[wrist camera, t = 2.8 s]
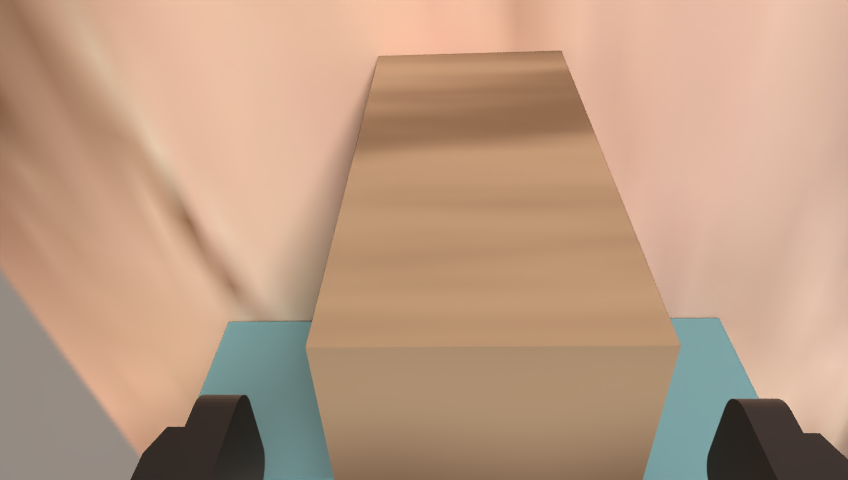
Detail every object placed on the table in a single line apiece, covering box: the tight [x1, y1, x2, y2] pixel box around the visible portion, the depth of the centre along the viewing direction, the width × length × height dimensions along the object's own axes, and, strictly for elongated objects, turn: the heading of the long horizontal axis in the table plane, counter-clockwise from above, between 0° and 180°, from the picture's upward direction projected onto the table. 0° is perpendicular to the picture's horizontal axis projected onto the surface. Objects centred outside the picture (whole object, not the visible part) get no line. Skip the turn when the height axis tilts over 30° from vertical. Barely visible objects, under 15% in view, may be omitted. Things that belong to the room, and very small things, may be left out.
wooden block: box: [305, 51, 681, 480], centre depth 14 cm, size 5×5×11 cm
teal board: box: [198, 318, 759, 480], centre depth 21 cm, size 1×18×6 cm, turn 93°
